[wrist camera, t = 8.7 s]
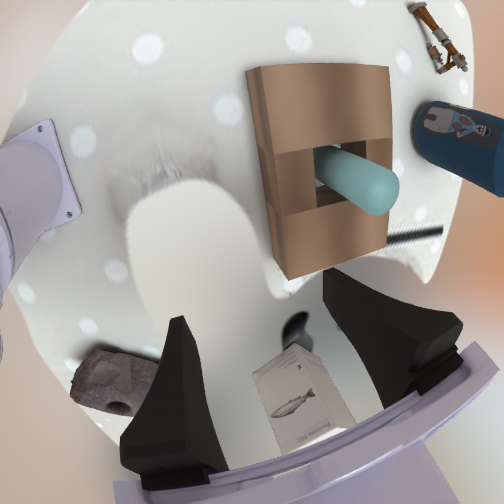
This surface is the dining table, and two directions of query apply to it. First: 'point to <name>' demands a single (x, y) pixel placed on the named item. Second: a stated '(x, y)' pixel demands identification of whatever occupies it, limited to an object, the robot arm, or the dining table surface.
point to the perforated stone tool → (113, 382)
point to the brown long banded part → (442, 37)
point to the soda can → (463, 143)
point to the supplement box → (301, 399)
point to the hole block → (302, 163)
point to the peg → (356, 179)
